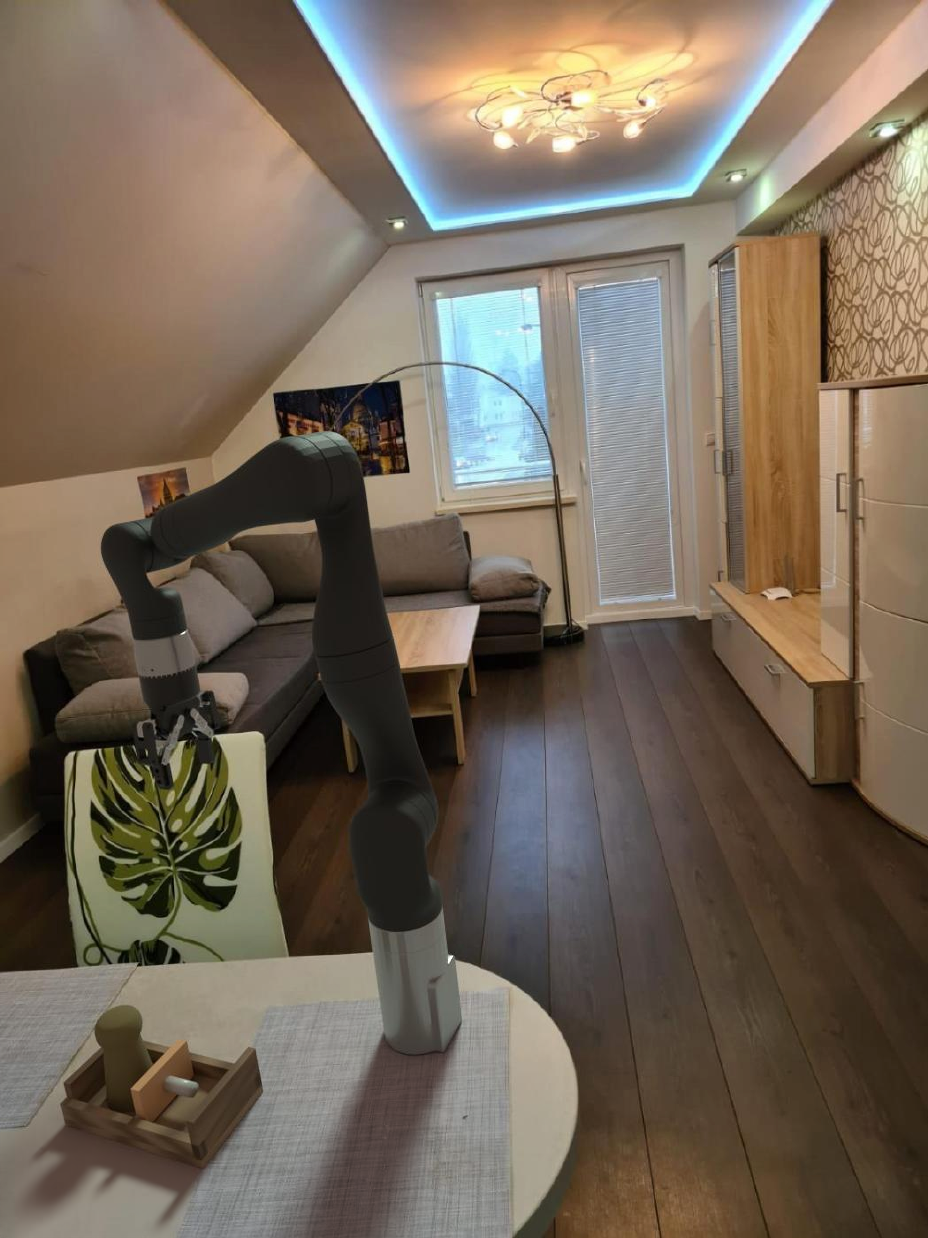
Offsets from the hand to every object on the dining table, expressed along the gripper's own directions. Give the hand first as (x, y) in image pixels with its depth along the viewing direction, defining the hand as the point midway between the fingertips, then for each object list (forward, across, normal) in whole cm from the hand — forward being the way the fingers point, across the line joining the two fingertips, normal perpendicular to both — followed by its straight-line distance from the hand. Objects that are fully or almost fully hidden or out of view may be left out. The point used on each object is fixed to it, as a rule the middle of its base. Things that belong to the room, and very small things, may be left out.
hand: (187, 775), depth 118 cm
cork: (+29, -25, -6) cm, 39 cm away
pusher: (+29, -25, -14) cm, 40 cm away
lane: (+30, -25, -11) cm, 41 cm away
